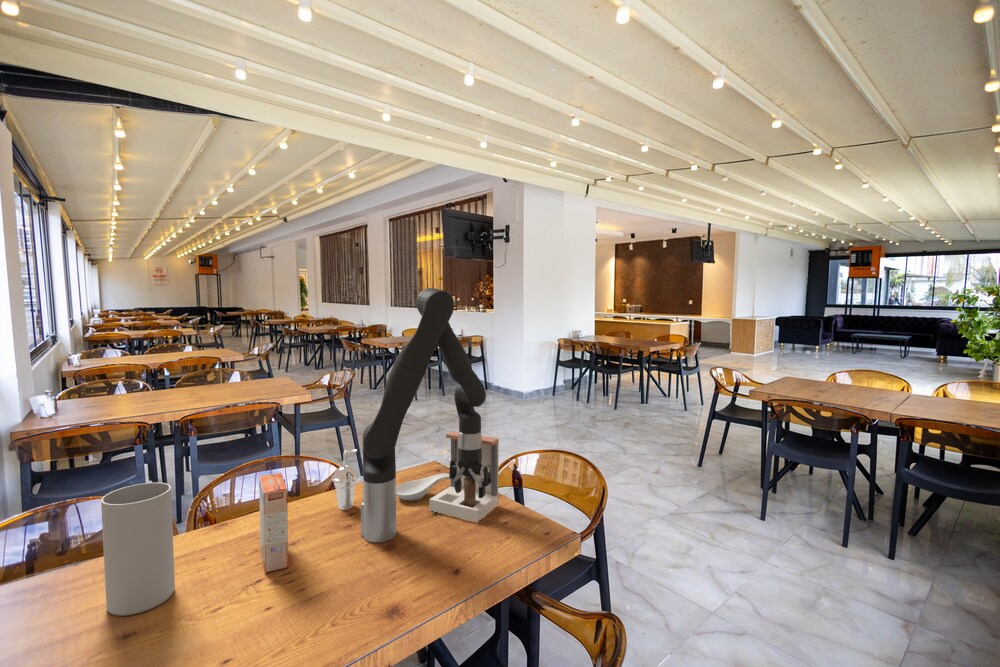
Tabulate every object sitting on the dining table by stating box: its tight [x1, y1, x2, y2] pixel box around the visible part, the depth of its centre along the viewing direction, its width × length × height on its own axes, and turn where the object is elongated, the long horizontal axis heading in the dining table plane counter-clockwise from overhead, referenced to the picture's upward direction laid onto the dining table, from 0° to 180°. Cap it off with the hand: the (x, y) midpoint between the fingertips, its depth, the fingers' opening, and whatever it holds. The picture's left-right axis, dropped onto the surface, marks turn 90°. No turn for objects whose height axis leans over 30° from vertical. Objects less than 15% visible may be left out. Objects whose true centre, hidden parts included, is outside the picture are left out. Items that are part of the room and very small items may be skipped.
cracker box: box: [258, 472, 289, 574], centre depth 126 cm, size 14×6×21 cm, turn 30°
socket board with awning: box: [428, 430, 500, 524], centre depth 157 cm, size 18×14×23 cm
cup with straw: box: [331, 449, 360, 511], centre depth 157 cm, size 8×9×20 cm
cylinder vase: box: [100, 482, 176, 617], centre depth 108 cm, size 12×12×25 cm
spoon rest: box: [396, 472, 451, 502], centre depth 168 cm, size 24×12×7 cm, turn 108°
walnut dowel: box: [464, 477, 476, 508], centre depth 153 cm, size 4×4×12 cm
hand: (469, 494), depth 153 cm, fingers open, 8 cm apart
